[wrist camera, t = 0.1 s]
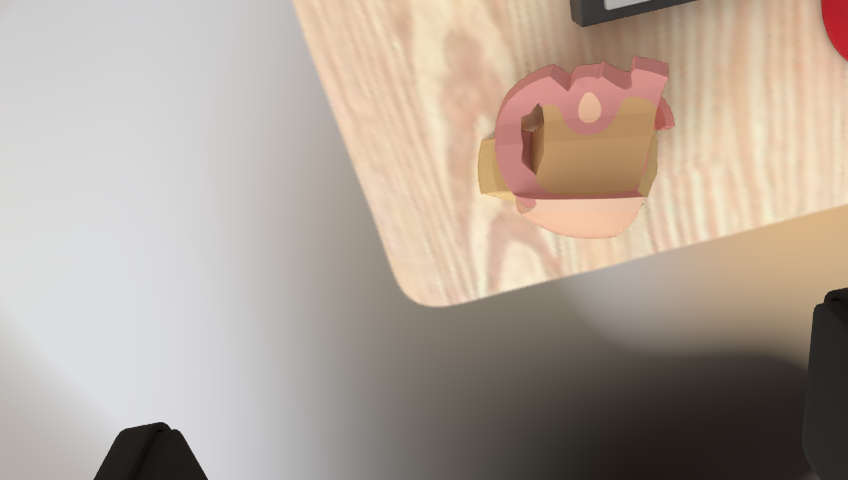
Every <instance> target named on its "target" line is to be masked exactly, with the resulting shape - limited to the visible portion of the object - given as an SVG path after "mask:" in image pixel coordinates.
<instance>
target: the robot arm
mask: <svg viewBox="0 0 848 480" xmlns="http://www.w3.org/2000/svg"><path fill="white" fill-rule="evenodd" d="M802 445H803V450H804V453H805V456H806V458H807V460H808V462H809V463H810V465H811V467H812V468H813V469H814V471H815V472H816V474H817V475H818V476H819V478H820V479H821V480H848V288H843V289H838V290H833V291H830V292H828V293H827V295H826V296H825V299H824V303H822V304H818V305H816V307H815V308H814V312H813V323H812V333H811V344H810V355H809V365H808V376H807V388H806V398H805V409H804V420H803V430H802ZM94 480H208V479H207V477H206V475H205V473H204V472H203V470H202V468H201V467H200V465H199V463H198V461H197V460H196V458H195V456H194V454H193V453H192V451H191V449H190V447H189V445H188V444H187V442H186V440H185V438H184V437H183V435H182V434H181V433H180V431H178V430H176V429H173V430H171V428H170V427H169V426H168V425H167V424H165V423H163V422H158V423H153V424H148V425H142V426H137V427H132V428H127V429H124V430H123V431H121V432H120V433H119V435H118V436H117V437H116V439H115V441H114V443H113V445H112V446H111V448H110V450H109V452H108V454H107V456H106V458H105V459H104V461H103V463H102V465H101V467H100V469H99V471H98V472H97V474H96V476H95V478H94Z"/></svg>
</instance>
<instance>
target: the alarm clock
mask: <svg viewBox="0 0 848 480" xmlns="http://www.w3.org/2000/svg"><path fill="white" fill-rule="evenodd" d="M821 3H822V16H823V21H824V25H825V28H826V31H827V34H828V36H829V38H830V40H831V42H832V44H833V45H834V47H835V48H836V50H837V51H838V52H839V53H840V55H841V56H842V57H844V58H845V59H846V60H847V61H848V0H821Z"/></svg>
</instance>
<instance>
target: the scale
mask: <svg viewBox="0 0 848 480" xmlns="http://www.w3.org/2000/svg"><path fill="white" fill-rule="evenodd" d="M692 1H696V0H570V5H571V15H572V20H573V21H574V22H576V23H577V24H579V25H580V26H581V27H586V26H590V25H594V24H598V23H603V22H607V21H611V20H615V19H620V18H624V17H628V16H632V15H637V14H641V13H645V12H649V11H654V10H658V9H662V8H666V7H671V6H675V5H679V4H683V3H687V2H692Z"/></svg>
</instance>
